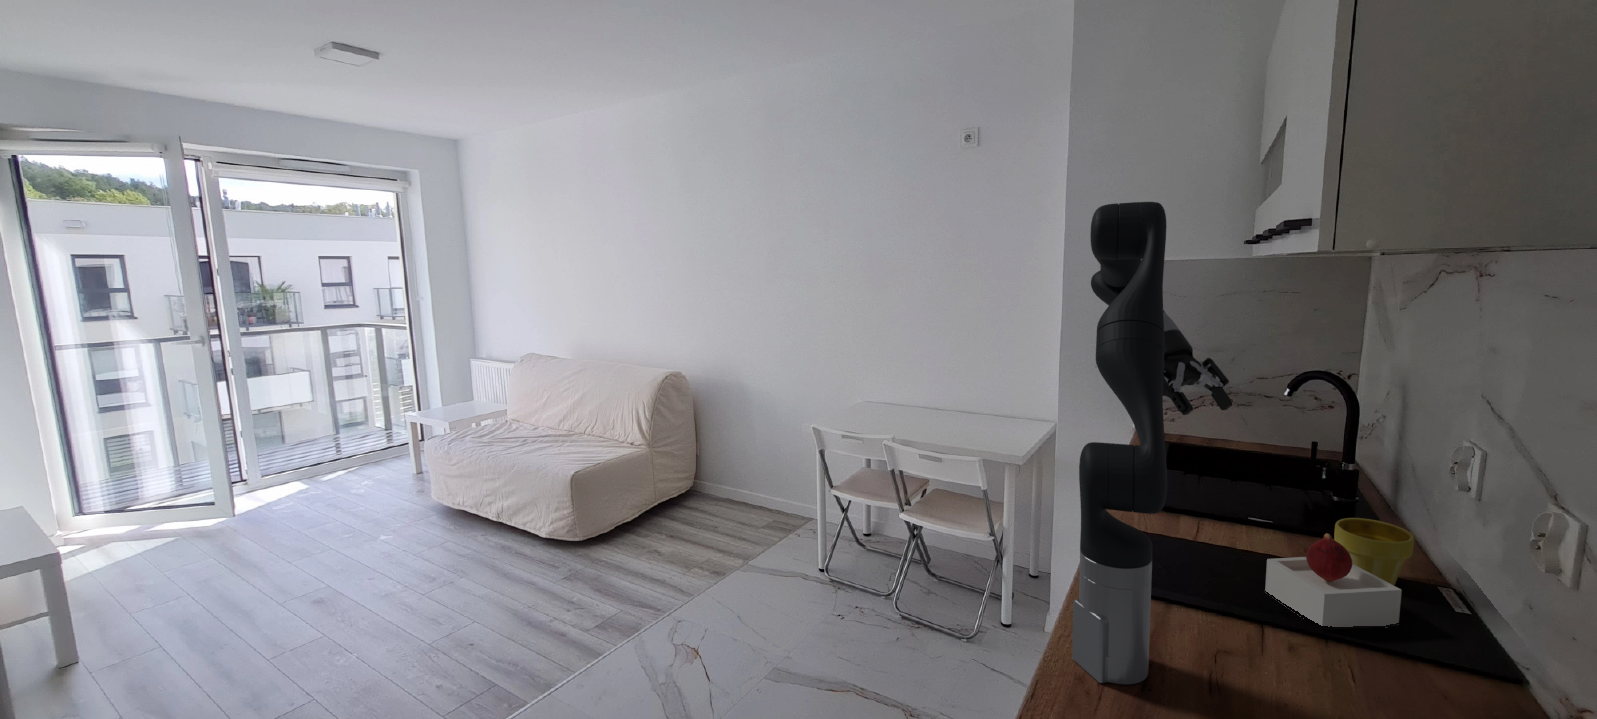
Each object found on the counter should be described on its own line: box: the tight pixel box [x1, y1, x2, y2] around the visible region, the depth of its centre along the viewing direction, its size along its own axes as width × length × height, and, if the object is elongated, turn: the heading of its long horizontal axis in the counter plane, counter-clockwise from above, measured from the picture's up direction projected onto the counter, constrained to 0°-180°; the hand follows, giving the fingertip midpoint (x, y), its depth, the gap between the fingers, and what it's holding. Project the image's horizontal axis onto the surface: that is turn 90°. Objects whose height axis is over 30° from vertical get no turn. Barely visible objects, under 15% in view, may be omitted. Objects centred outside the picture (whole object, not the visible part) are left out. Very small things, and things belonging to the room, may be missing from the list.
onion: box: [1305, 532, 1352, 582], centre depth 105 cm, size 6×6×8 cm
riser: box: [1264, 556, 1403, 627], centre depth 106 cm, size 12×12×6 cm
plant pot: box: [1333, 517, 1415, 586], centre depth 113 cm, size 10×10×10 cm
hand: (1208, 410), depth 116 cm, fingers open, 8 cm apart
